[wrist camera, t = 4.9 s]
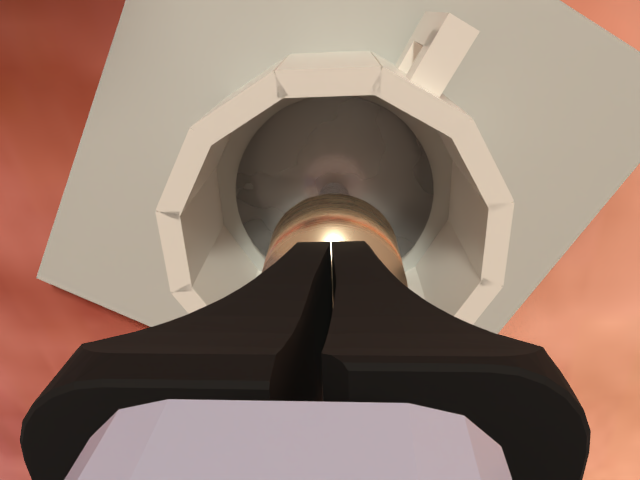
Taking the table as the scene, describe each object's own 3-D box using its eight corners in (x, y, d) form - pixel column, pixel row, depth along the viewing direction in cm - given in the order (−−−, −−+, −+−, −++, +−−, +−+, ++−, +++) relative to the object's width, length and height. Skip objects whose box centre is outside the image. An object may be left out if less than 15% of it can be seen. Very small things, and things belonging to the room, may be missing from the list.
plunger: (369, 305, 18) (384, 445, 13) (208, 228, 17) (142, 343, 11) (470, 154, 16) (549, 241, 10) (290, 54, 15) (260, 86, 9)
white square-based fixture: (408, 423, 22) (427, 533, 17) (47, 267, 19) (-43, 349, 14) (683, 86, 16) (824, 119, 11) (207, -218, 13) (138, -340, 8)
